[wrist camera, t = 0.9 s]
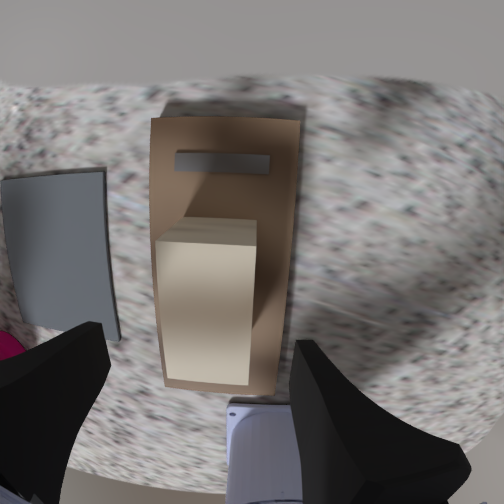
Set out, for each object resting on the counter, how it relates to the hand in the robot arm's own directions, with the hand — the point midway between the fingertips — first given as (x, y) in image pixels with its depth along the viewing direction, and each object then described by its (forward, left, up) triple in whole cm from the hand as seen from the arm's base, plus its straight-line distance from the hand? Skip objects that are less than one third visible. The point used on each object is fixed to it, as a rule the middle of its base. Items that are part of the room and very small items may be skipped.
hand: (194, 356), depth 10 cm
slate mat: (0, +12, -9) cm, 15 cm away
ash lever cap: (0, 0, -8) cm, 8 cm away
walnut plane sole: (0, 0, -9) cm, 9 cm away
